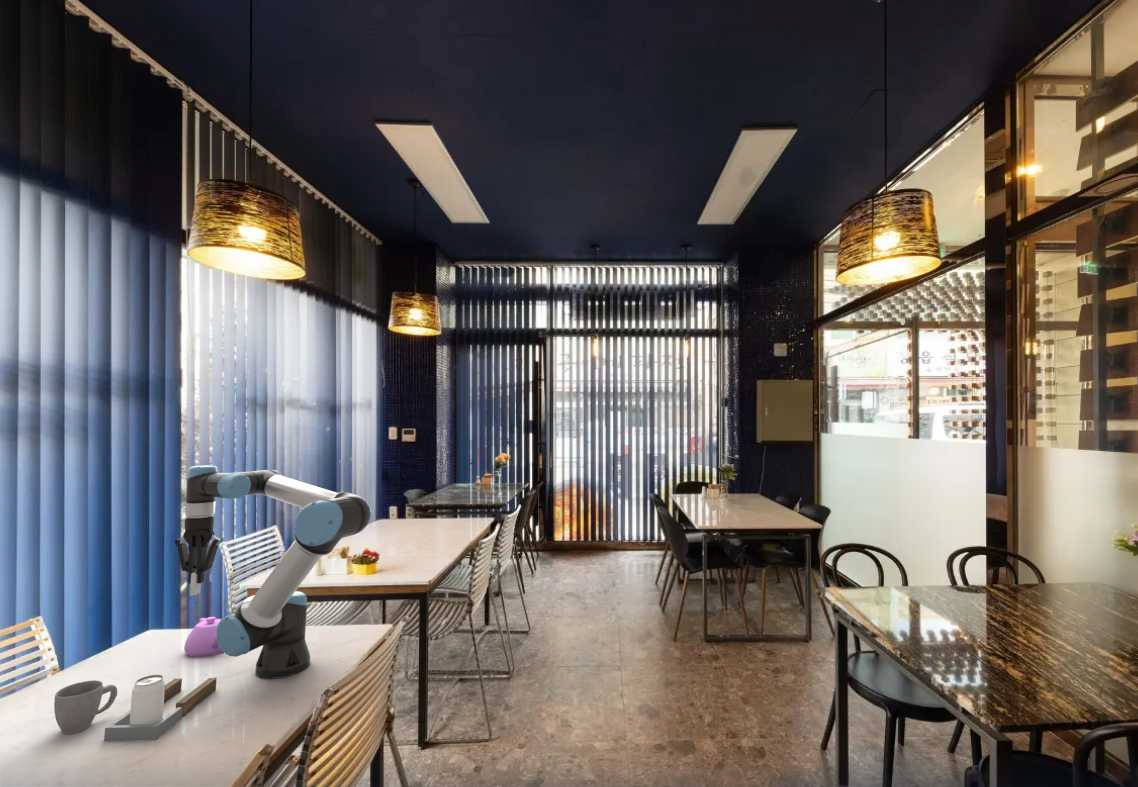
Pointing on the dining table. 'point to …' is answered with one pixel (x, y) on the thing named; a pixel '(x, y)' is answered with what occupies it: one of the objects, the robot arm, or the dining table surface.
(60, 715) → the mug
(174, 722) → the bay
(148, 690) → the can
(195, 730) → the dining table surface
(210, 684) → the chute
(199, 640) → the teapot
